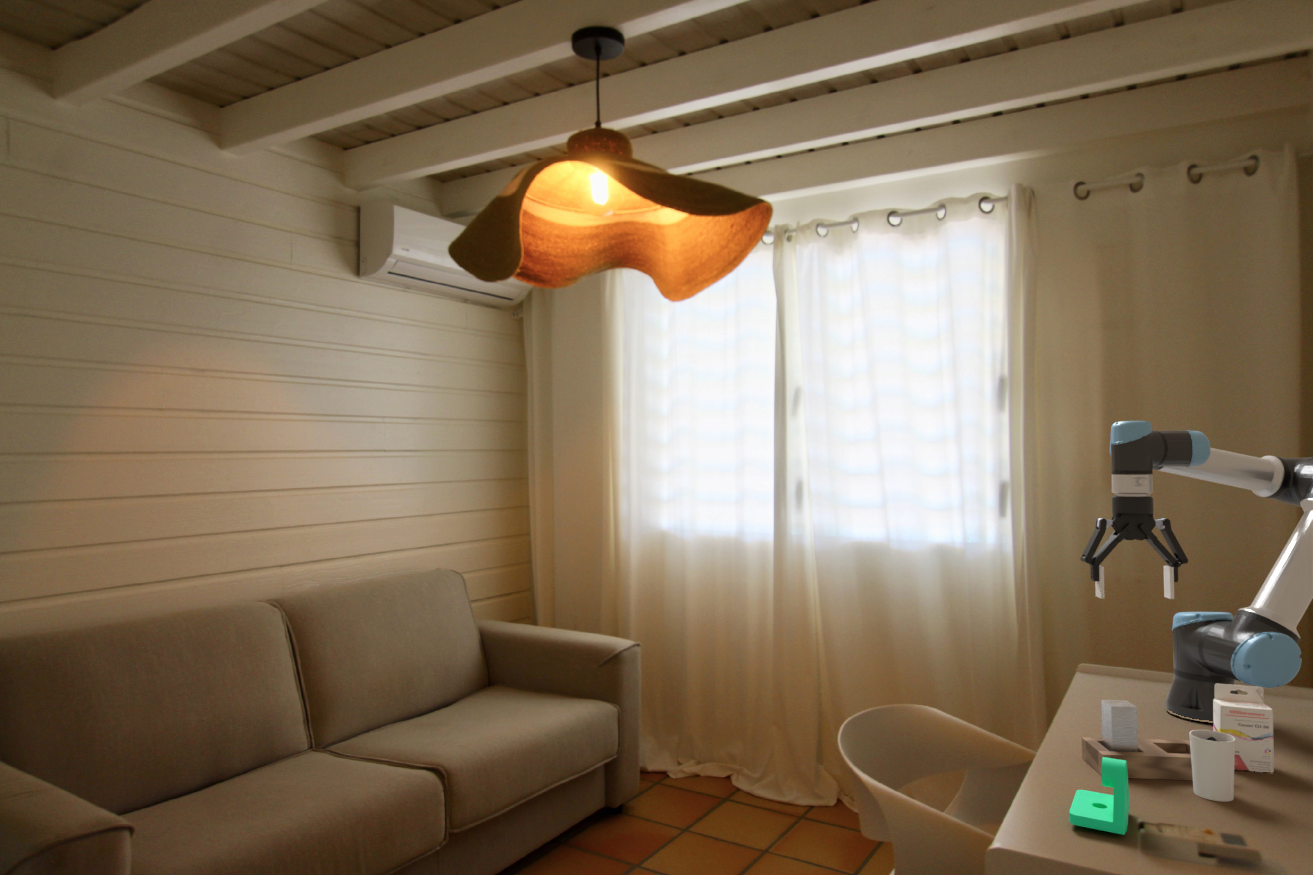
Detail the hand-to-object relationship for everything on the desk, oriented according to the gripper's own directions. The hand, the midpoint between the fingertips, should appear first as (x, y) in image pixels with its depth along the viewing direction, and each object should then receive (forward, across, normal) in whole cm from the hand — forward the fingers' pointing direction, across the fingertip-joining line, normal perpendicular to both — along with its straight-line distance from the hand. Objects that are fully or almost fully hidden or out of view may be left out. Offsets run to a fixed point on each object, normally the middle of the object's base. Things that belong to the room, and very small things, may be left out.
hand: (1134, 597), depth 178 cm
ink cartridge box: (+29, +12, -16) cm, 35 cm away
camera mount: (+29, -24, -44) cm, 58 cm away
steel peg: (+29, -11, -19) cm, 36 cm away
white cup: (+29, -1, -31) cm, 42 cm away
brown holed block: (+29, -6, -19) cm, 35 cm away
